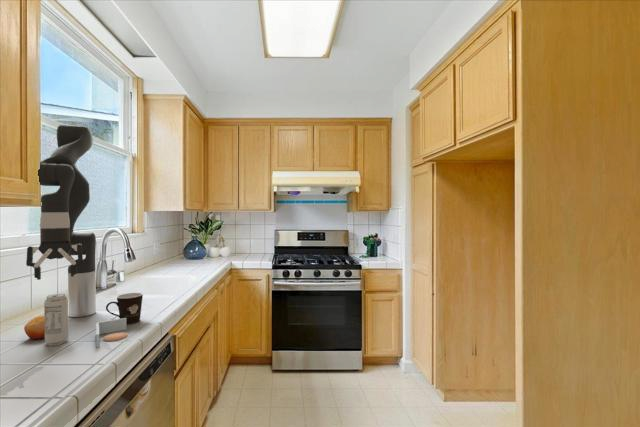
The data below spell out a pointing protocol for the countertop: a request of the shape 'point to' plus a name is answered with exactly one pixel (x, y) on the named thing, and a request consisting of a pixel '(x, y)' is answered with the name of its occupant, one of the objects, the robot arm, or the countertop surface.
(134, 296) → the coffee mug
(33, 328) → the fruit
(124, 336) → the pad
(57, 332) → the energy drink can
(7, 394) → the countertop surface
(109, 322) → the acrylic fence
